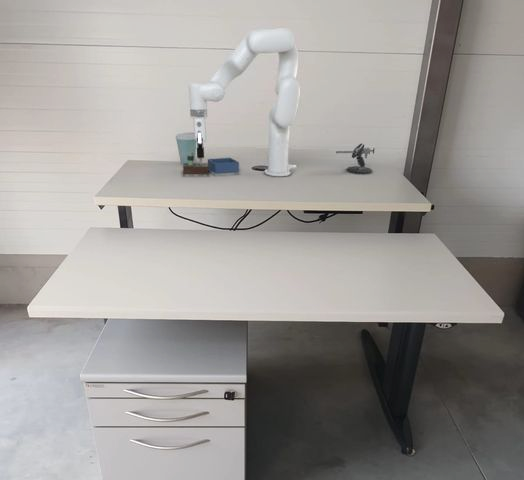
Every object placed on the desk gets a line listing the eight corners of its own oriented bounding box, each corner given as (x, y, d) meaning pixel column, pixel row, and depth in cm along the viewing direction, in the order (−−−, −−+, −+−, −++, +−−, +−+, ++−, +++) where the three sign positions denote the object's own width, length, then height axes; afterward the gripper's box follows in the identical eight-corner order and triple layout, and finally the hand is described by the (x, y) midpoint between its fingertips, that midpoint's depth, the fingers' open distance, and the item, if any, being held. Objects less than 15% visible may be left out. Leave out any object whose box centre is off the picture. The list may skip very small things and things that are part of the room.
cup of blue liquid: (181, 168, 247) (179, 135, 239) (173, 163, 255) (171, 132, 247) (201, 166, 251) (200, 134, 243) (193, 162, 259) (191, 130, 251)
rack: (183, 172, 239) (183, 162, 237) (207, 172, 241) (207, 163, 238) (183, 176, 233) (183, 166, 231) (208, 176, 235) (207, 166, 232)
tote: (230, 169, 248) (230, 157, 246) (238, 174, 241) (238, 162, 238) (207, 170, 244) (207, 159, 241) (215, 175, 236) (215, 163, 233)
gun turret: (331, 168, 257) (333, 141, 250) (367, 167, 261) (370, 141, 254) (339, 174, 247) (342, 146, 240) (376, 173, 251) (381, 146, 244)
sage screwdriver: (188, 171, 237) (187, 151, 232) (194, 171, 238) (193, 151, 233) (187, 173, 235) (187, 153, 230) (194, 173, 235) (193, 153, 230)
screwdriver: (197, 164, 236) (196, 144, 231) (204, 164, 236) (203, 144, 231) (197, 166, 234) (196, 145, 229) (204, 166, 234) (203, 145, 229)
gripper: (207, 116, 217) (209, 160, 226) (206, 111, 230) (208, 153, 240) (190, 116, 216) (192, 160, 226) (190, 110, 229) (192, 153, 239)
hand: (200, 156), depth 233 cm, fingers closed on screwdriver, 3 cm apart
